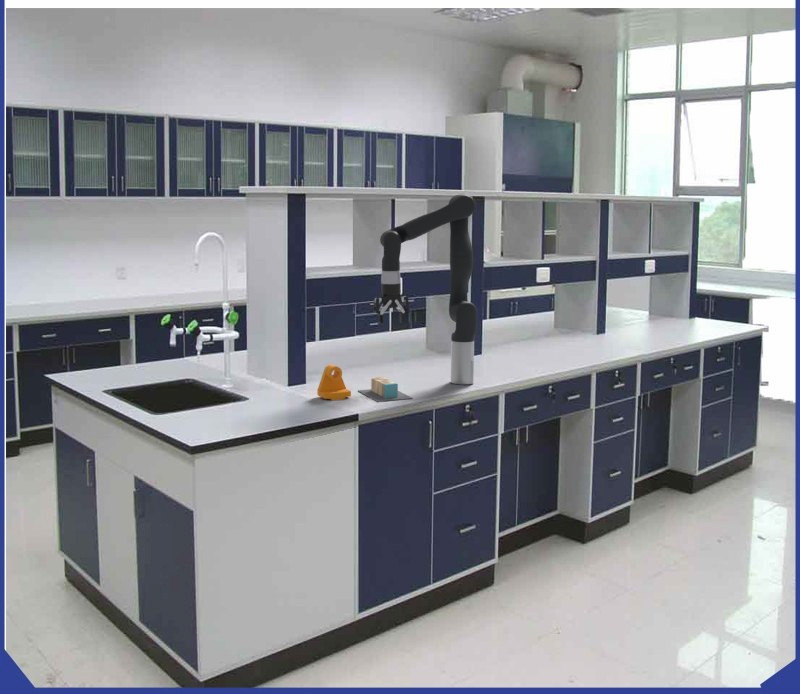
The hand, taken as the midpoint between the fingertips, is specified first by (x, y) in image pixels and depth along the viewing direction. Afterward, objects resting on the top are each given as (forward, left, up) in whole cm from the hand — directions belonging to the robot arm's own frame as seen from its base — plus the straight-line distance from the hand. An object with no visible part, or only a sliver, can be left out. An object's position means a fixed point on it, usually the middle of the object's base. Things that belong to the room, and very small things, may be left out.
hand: (391, 323), depth 342 cm
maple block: (+4, +12, -22) cm, 25 cm away
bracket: (+18, +25, -25) cm, 40 cm away
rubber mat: (0, +18, -25) cm, 31 cm away
